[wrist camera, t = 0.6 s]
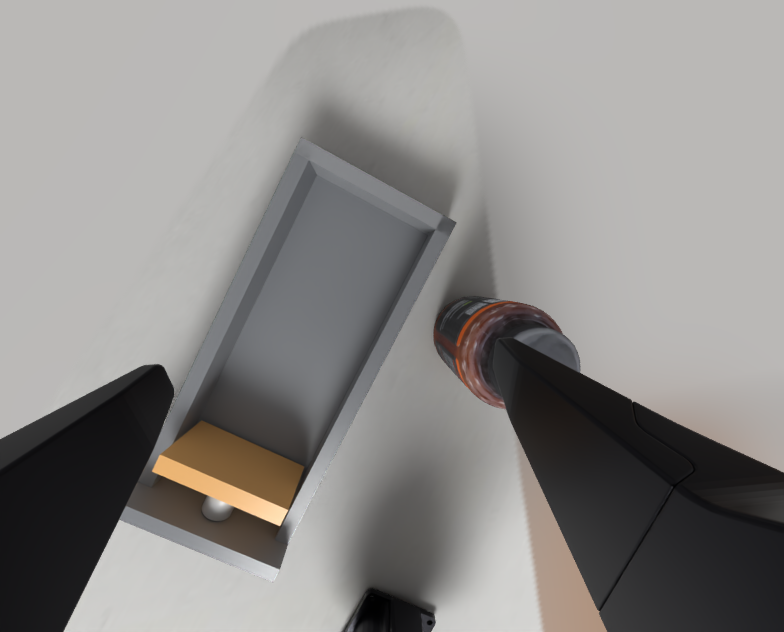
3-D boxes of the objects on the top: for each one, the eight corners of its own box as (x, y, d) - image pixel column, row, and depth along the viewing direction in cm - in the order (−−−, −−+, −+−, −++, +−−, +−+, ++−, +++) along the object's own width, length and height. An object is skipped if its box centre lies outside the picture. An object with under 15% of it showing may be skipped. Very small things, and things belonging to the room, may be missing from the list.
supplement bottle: (483, 382, 27) (560, 456, 16) (418, 348, 26) (450, 400, 15) (520, 317, 27) (626, 345, 15) (455, 281, 26) (516, 283, 15)
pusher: (282, 509, 26) (261, 562, 21) (180, 464, 25) (133, 509, 20) (304, 466, 26) (288, 510, 21) (201, 420, 25) (159, 454, 20)
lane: (294, 518, 27) (272, 582, 22) (166, 463, 26) (107, 514, 21) (444, 230, 26) (464, 216, 20) (312, 158, 24) (293, 121, 19)
